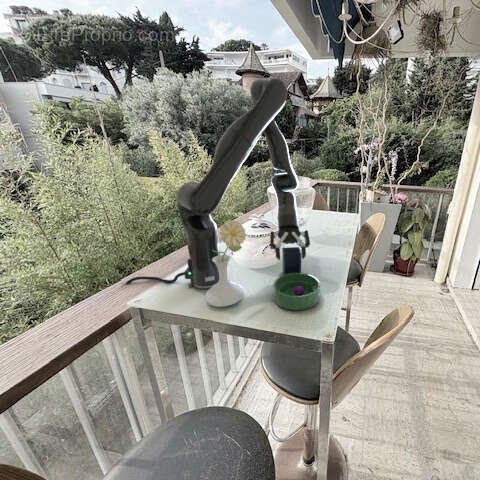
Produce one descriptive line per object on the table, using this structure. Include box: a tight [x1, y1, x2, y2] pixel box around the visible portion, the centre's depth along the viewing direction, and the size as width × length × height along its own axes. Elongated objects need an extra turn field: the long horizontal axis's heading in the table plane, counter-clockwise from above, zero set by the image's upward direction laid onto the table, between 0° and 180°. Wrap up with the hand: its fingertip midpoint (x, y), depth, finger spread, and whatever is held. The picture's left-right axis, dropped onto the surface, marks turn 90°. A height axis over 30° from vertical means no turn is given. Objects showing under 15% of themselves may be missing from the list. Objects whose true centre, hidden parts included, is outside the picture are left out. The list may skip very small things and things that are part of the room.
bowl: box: [273, 272, 321, 311], centre depth 82 cm, size 14×14×5 cm
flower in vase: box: [204, 219, 247, 308], centre depth 77 cm, size 13×11×25 cm
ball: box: [294, 286, 304, 296], centre depth 83 cm, size 3×3×3 cm
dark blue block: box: [281, 246, 302, 276], centre depth 94 cm, size 6×6×10 cm
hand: (291, 258), depth 94 cm, fingers open, 8 cm apart
